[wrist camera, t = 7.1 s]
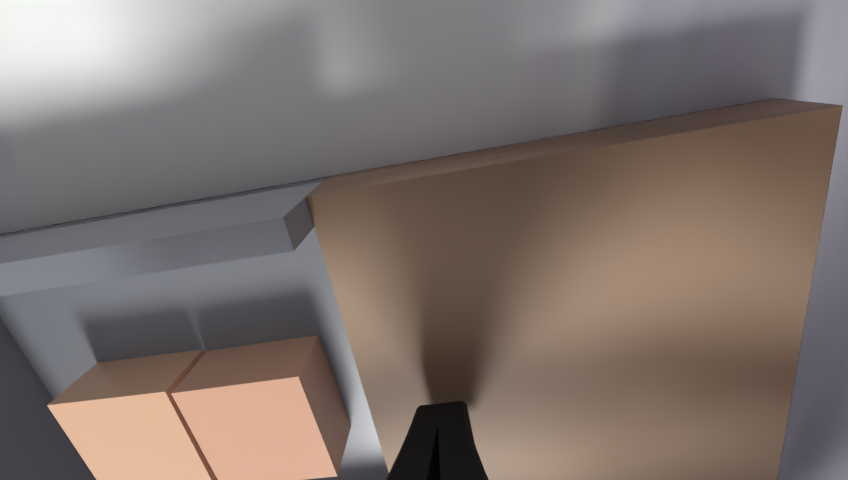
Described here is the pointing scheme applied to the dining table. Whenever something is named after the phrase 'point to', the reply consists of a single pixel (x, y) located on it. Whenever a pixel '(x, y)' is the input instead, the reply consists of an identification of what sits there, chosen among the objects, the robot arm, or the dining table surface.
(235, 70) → the dining table surface
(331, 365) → the tray
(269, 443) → the tile
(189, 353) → the tile
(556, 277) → the board
